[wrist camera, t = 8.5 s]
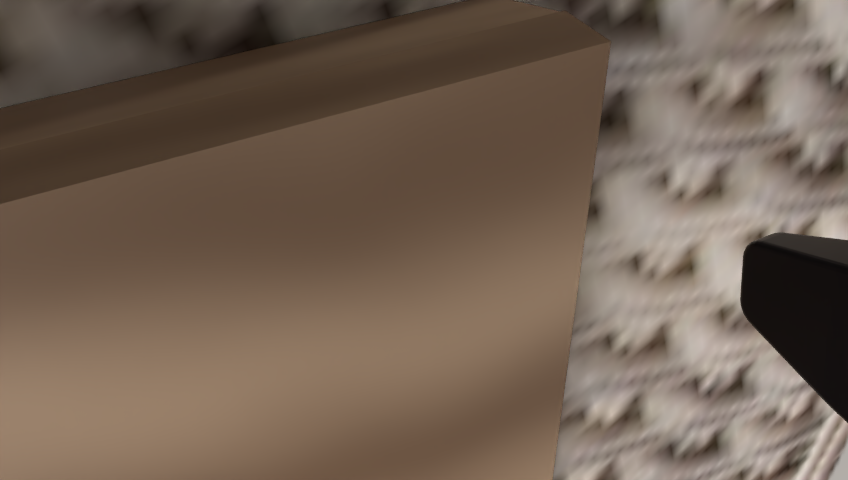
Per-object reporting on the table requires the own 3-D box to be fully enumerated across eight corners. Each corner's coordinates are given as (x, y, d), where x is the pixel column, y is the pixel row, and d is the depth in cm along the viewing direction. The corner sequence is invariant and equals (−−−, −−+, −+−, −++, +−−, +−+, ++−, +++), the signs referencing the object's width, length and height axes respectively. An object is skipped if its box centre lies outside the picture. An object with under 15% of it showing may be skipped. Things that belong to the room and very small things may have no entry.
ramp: (-119, 118, 12) (-201, 229, 8) (466, -13, 15) (610, 21, 11) (154, 677, 18) (180, 886, 14) (522, 506, 21) (625, 641, 17)
